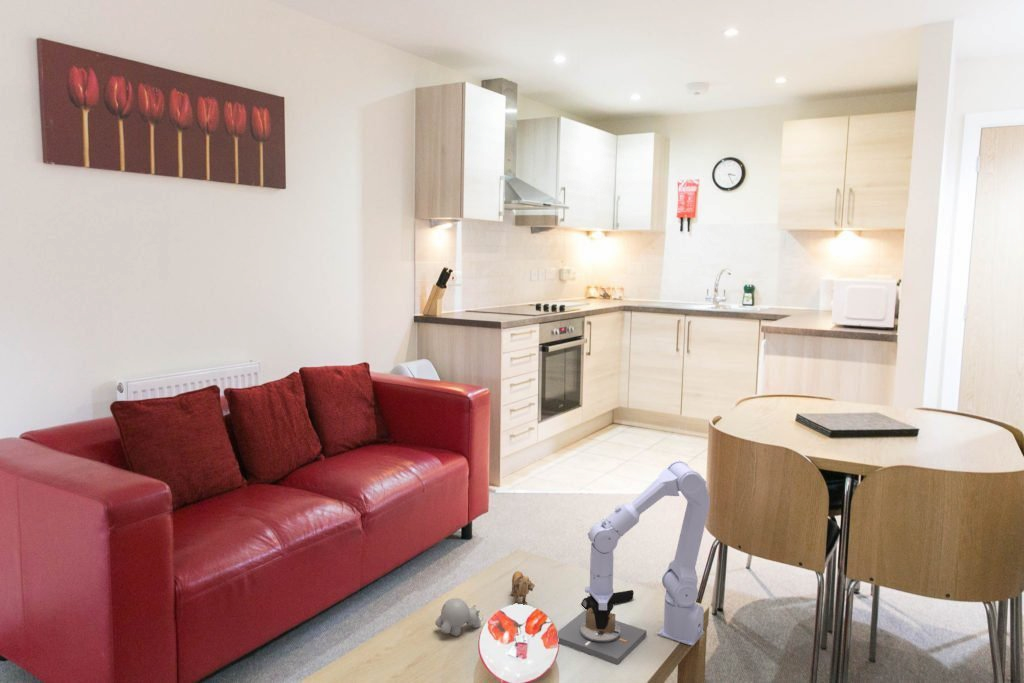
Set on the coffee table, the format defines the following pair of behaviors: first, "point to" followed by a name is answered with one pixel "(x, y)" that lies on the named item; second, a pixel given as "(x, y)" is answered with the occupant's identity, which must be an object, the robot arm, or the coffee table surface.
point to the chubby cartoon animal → (457, 617)
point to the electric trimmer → (614, 598)
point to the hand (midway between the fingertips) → (600, 623)
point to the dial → (599, 635)
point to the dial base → (603, 650)
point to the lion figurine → (521, 586)
